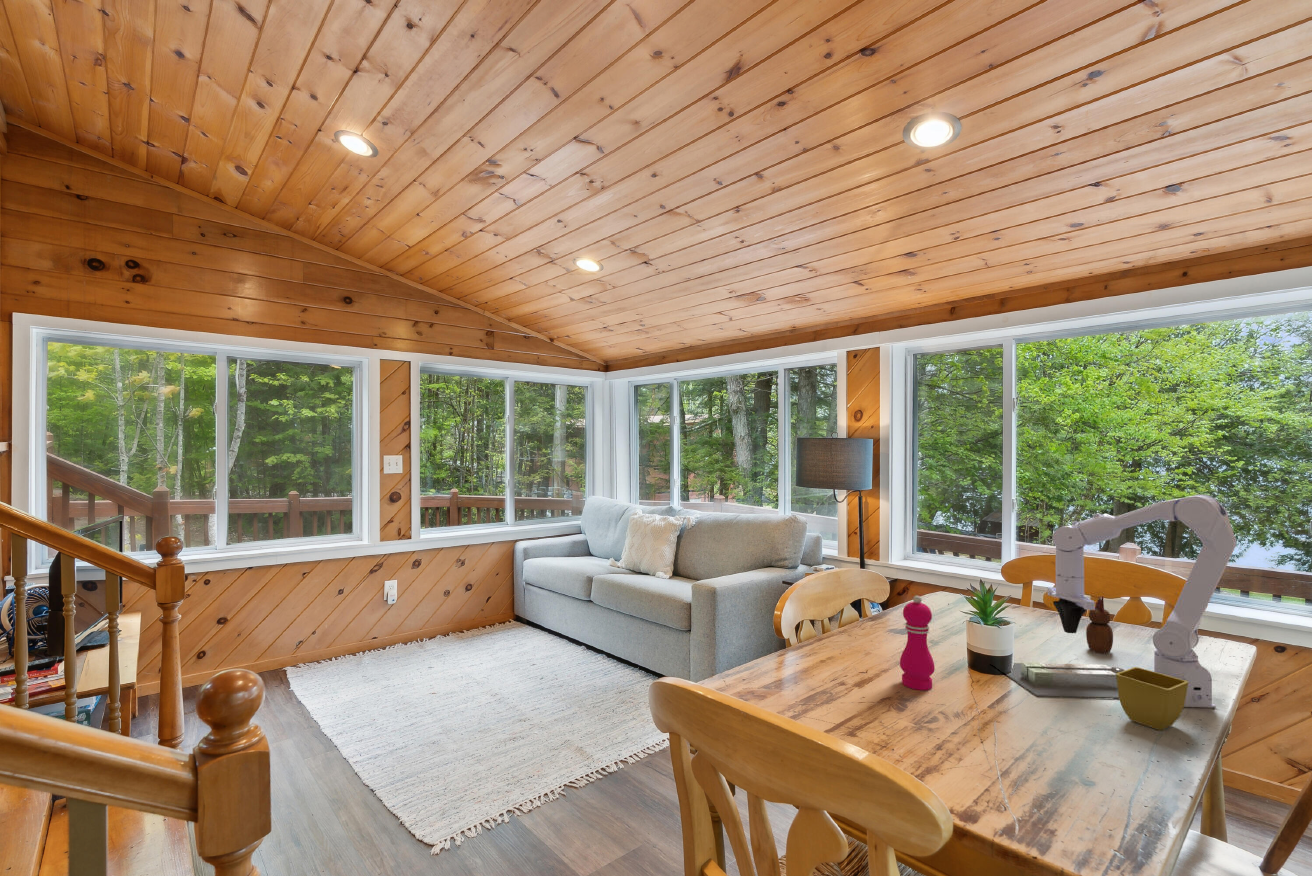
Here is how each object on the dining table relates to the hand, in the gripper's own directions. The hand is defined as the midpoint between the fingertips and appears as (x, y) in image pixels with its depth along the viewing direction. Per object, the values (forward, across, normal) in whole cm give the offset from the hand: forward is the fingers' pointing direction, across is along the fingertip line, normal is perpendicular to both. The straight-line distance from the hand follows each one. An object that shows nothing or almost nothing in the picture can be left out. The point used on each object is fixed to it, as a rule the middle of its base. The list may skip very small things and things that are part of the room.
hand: (1070, 632), depth 147 cm
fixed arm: (+9, +10, -6) cm, 15 cm away
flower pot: (+10, +28, -2) cm, 30 cm away
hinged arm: (+9, +8, -4) cm, 12 cm away
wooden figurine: (+10, -15, +17) cm, 25 cm away
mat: (+9, +6, -4) cm, 12 cm away
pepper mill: (+9, +11, -41) cm, 43 cm away
